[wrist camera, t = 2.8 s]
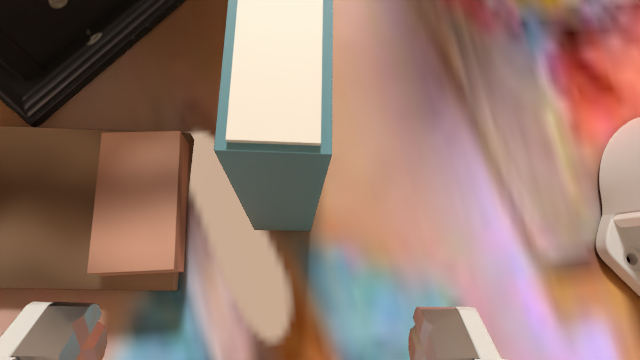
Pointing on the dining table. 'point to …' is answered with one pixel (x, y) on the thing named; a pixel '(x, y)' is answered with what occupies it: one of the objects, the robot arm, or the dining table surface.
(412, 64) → the dining table surface
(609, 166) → the robot arm
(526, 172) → the dining table surface
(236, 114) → the book
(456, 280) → the dining table surface
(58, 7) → the black drawer cabinet
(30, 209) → the shelf
